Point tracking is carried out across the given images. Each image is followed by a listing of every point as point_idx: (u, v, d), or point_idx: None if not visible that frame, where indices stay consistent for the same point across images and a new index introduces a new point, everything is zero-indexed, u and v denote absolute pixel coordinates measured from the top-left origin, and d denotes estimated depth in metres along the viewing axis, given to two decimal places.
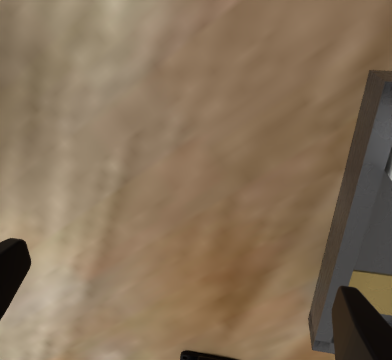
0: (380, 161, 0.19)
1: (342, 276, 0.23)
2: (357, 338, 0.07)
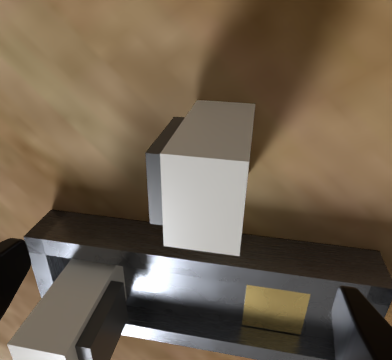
0: None
1: (230, 348, 0.22)
2: (357, 338, 0.07)
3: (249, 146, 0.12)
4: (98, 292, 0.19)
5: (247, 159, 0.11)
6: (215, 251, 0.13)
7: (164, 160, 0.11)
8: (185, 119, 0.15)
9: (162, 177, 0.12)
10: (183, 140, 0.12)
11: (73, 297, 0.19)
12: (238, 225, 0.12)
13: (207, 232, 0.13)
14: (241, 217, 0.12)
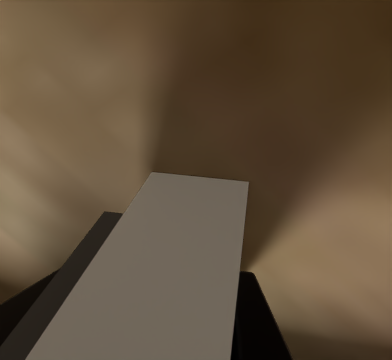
0: None
1: None
2: (235, 318, 0.07)
3: None
4: None
5: None
6: None
7: None
8: (111, 236, 0.08)
9: None
10: (77, 330, 0.05)
11: None
12: None
13: None
14: None
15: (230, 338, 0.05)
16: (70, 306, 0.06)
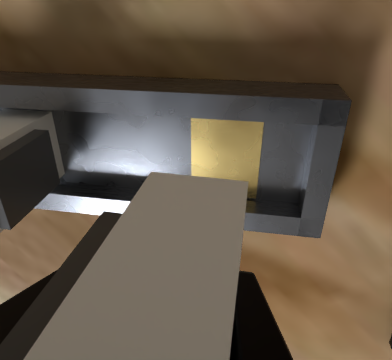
0: None
1: None
2: (235, 318, 0.07)
3: None
4: (14, 131, 0.16)
5: None
6: None
7: None
8: (110, 236, 0.08)
9: None
10: (75, 330, 0.05)
11: None
12: None
13: None
14: None
15: (229, 338, 0.05)
16: (69, 306, 0.06)
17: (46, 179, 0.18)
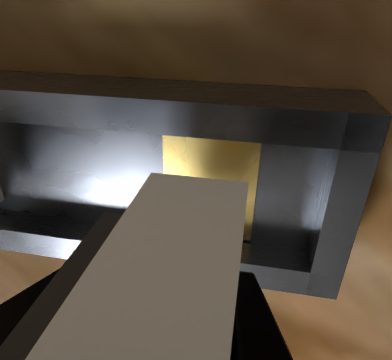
0: None
1: None
2: (235, 318, 0.07)
3: None
4: None
5: None
6: None
7: None
8: (111, 237, 0.08)
9: None
10: (76, 332, 0.05)
11: None
12: None
13: None
14: None
15: (230, 340, 0.05)
16: (69, 308, 0.06)
17: None
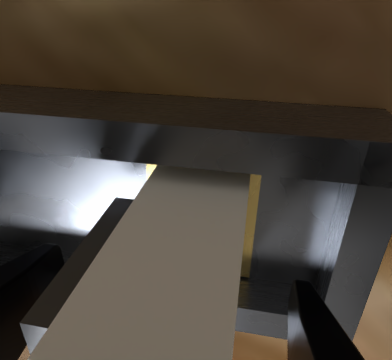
0: None
1: None
2: (301, 329, 0.07)
3: (233, 320, 0.06)
4: None
5: None
6: None
7: None
8: (124, 217, 0.08)
9: None
10: (99, 295, 0.06)
11: None
12: None
13: None
14: None
15: (236, 303, 0.06)
16: (91, 276, 0.07)
17: None
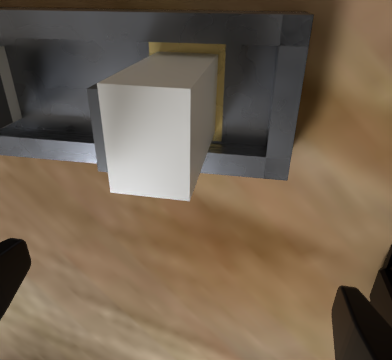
0: None
1: None
2: (357, 338, 0.07)
3: (196, 79, 0.11)
4: None
5: (189, 87, 0.10)
6: (164, 196, 0.12)
7: (102, 91, 0.11)
8: (138, 62, 0.14)
9: (101, 111, 0.11)
10: (127, 75, 0.12)
11: None
12: (186, 164, 0.11)
13: (154, 174, 0.12)
14: (188, 155, 0.11)
15: (199, 77, 0.12)
16: (122, 72, 0.12)
17: None
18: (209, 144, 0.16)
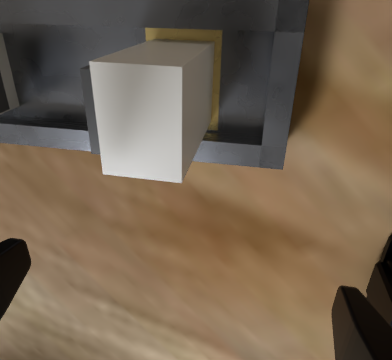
0: None
1: None
2: (357, 338, 0.07)
3: (189, 59, 0.11)
4: None
5: (181, 65, 0.10)
6: (156, 178, 0.12)
7: (94, 69, 0.11)
8: (133, 46, 0.14)
9: (94, 90, 0.11)
10: (120, 55, 0.12)
11: None
12: (178, 145, 0.11)
13: (146, 155, 0.12)
14: (179, 135, 0.11)
15: (192, 58, 0.12)
16: (115, 53, 0.12)
17: None
18: (204, 131, 0.16)
